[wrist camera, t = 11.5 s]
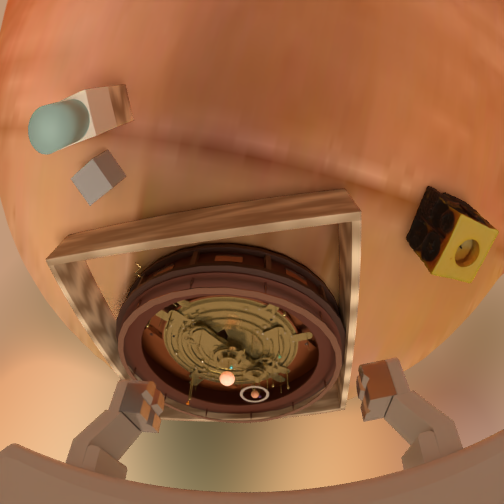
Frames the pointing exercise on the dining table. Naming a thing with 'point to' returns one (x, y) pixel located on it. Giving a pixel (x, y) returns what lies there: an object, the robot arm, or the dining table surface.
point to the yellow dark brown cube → (450, 236)
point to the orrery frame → (206, 229)
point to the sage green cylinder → (58, 125)
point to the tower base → (120, 104)
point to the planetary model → (232, 331)
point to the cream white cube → (96, 110)
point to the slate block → (98, 177)
